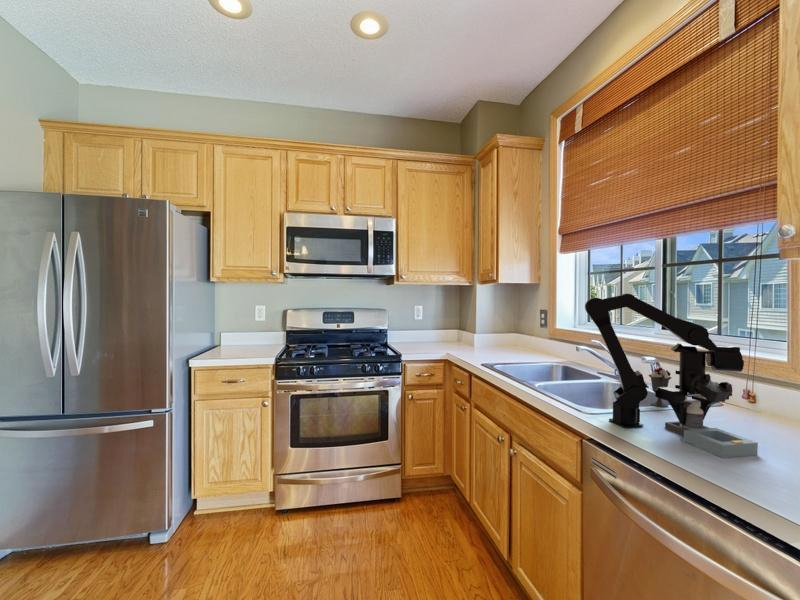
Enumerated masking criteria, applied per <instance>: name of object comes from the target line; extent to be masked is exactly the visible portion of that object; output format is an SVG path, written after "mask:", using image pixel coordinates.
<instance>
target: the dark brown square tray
mask: <svg viewBox="0 0 800 600" xmlns="http://www.w3.org/2000/svg"><path fill="white" fill-rule="evenodd" d="M664 425H665V426H664V429H666V430H670V431H672V432H675V433H677V434H679V435H682V436H684V430H687V429H684V428H682V427H679V420H678V421H665V422H664ZM704 428H710V427H708V426H706V425H703V429H704Z"/></svg>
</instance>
